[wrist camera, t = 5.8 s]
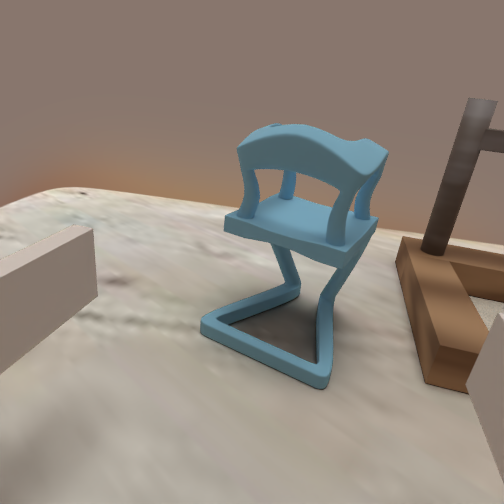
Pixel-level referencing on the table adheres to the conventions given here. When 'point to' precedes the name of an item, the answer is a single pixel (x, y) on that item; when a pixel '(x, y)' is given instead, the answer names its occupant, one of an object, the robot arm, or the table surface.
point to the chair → (300, 233)
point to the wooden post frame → (452, 265)
